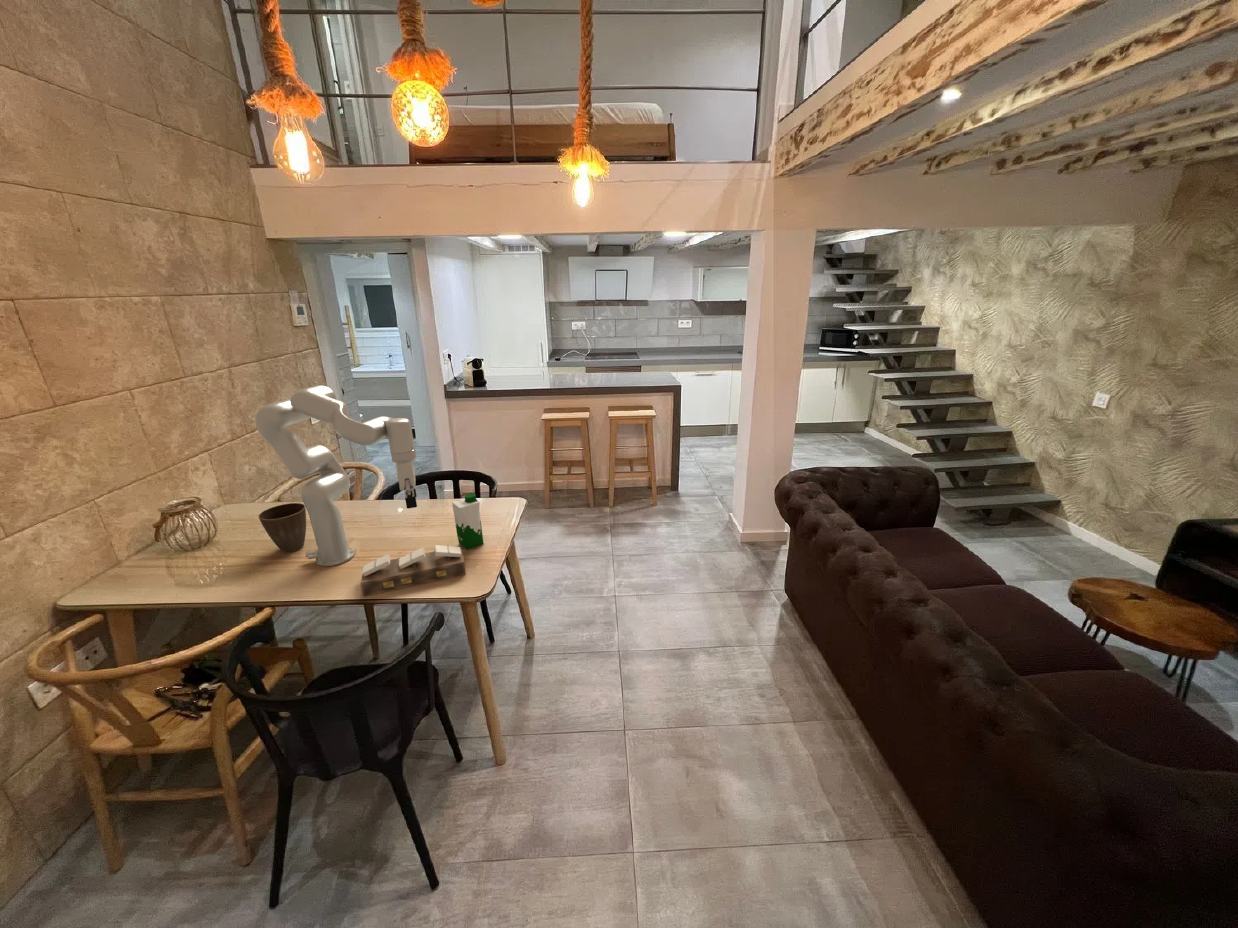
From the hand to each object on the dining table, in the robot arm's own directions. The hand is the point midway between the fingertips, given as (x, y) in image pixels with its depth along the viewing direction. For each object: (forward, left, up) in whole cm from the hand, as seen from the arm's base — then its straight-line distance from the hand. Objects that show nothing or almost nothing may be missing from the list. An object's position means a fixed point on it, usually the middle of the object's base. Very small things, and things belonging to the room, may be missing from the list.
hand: (411, 502), depth 167 cm
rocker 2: (-2, -8, -18) cm, 20 cm away
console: (-2, -8, -24) cm, 26 cm away
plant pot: (-47, +34, -24) cm, 63 cm away
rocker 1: (-13, -8, -18) cm, 24 cm away
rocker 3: (+9, -8, -18) cm, 22 cm away
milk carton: (+18, +8, -24) cm, 31 cm away
